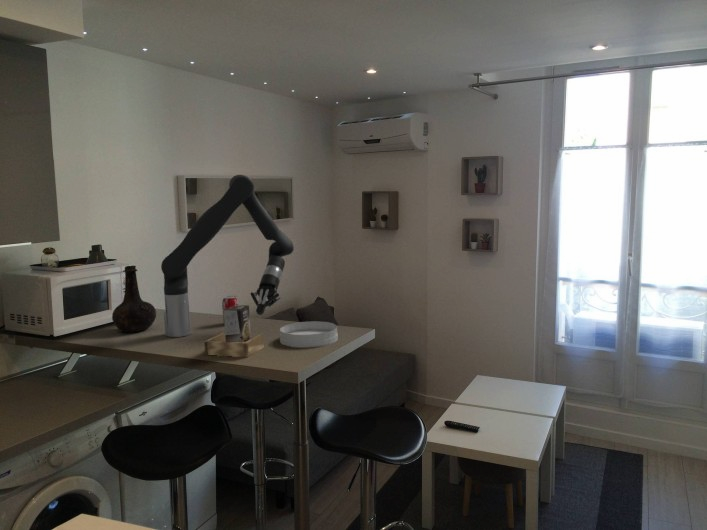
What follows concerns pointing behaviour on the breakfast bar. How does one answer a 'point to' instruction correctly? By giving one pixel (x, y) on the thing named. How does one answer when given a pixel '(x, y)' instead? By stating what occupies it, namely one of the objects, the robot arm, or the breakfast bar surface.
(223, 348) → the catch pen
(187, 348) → the breakfast bar surface
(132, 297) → the glass bottle
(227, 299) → the soda can
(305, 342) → the dish
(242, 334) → the coffee box
